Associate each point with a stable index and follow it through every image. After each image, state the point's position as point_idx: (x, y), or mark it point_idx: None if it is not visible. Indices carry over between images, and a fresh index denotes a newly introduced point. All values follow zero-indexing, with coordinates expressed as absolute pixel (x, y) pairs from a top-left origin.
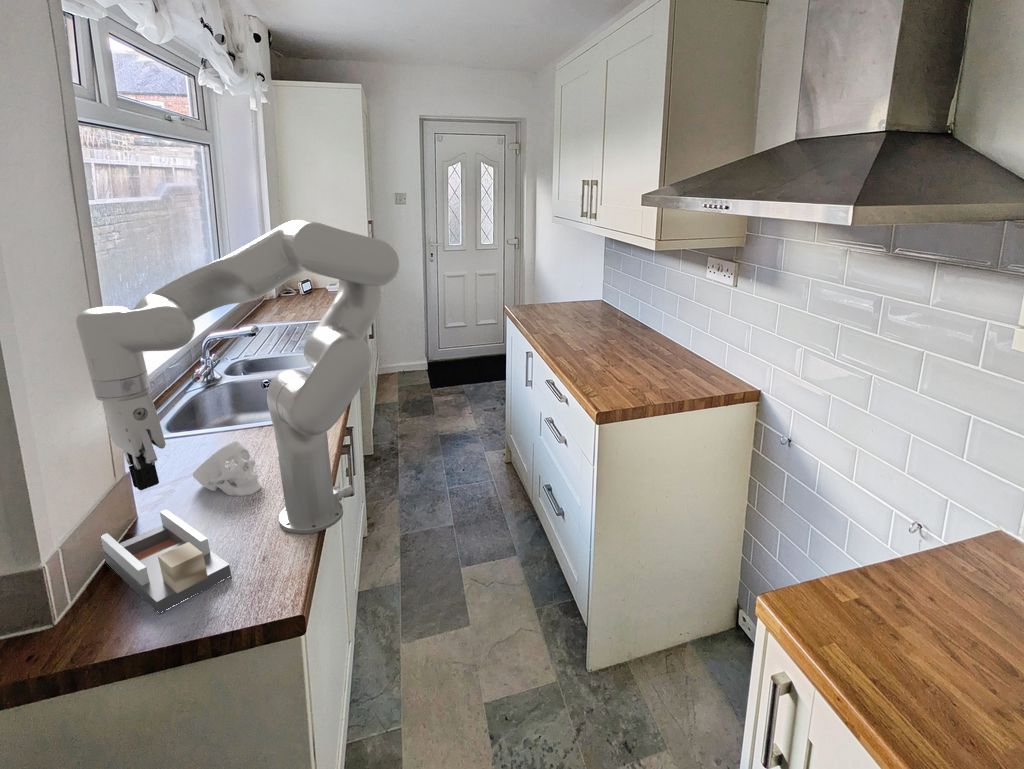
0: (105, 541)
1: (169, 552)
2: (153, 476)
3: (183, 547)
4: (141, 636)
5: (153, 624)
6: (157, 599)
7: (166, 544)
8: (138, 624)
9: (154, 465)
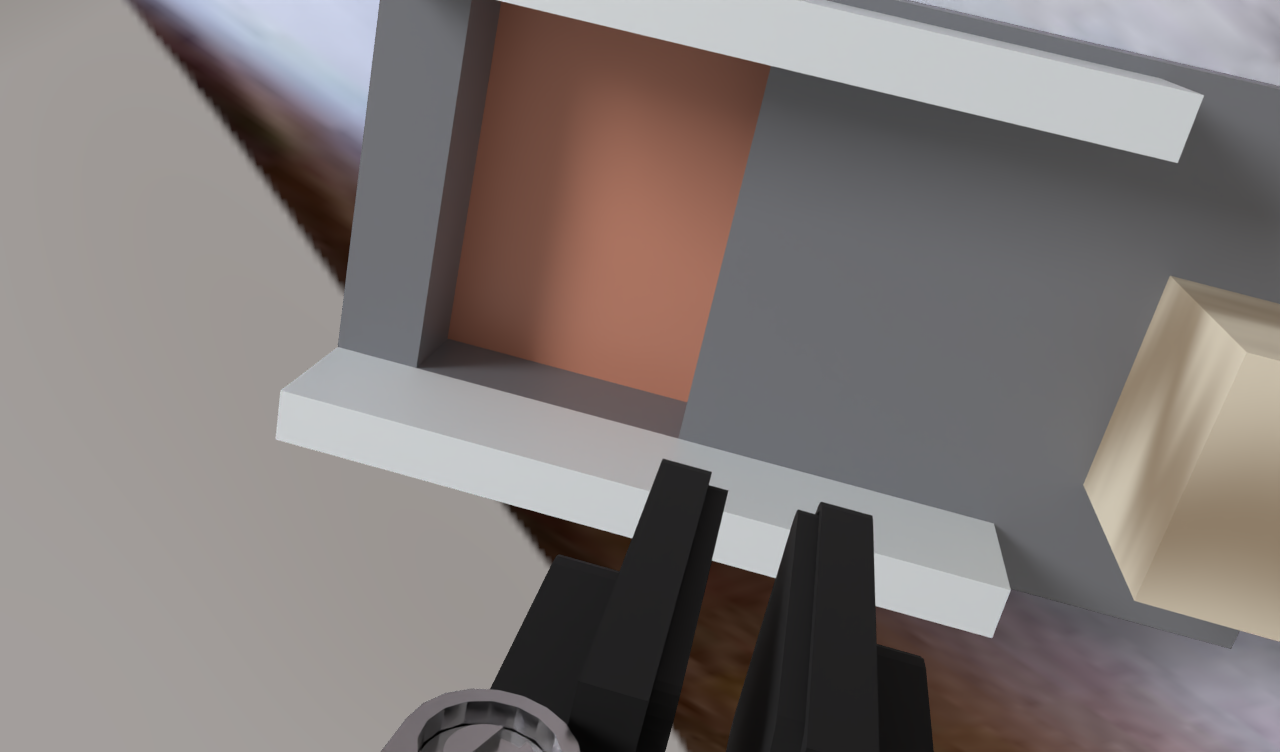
0: (389, 470)
1: (1197, 530)
2: (924, 712)
3: (1270, 434)
4: (1247, 743)
5: (1234, 659)
6: (1215, 630)
7: (555, 47)
8: (1140, 684)
9: (876, 738)
